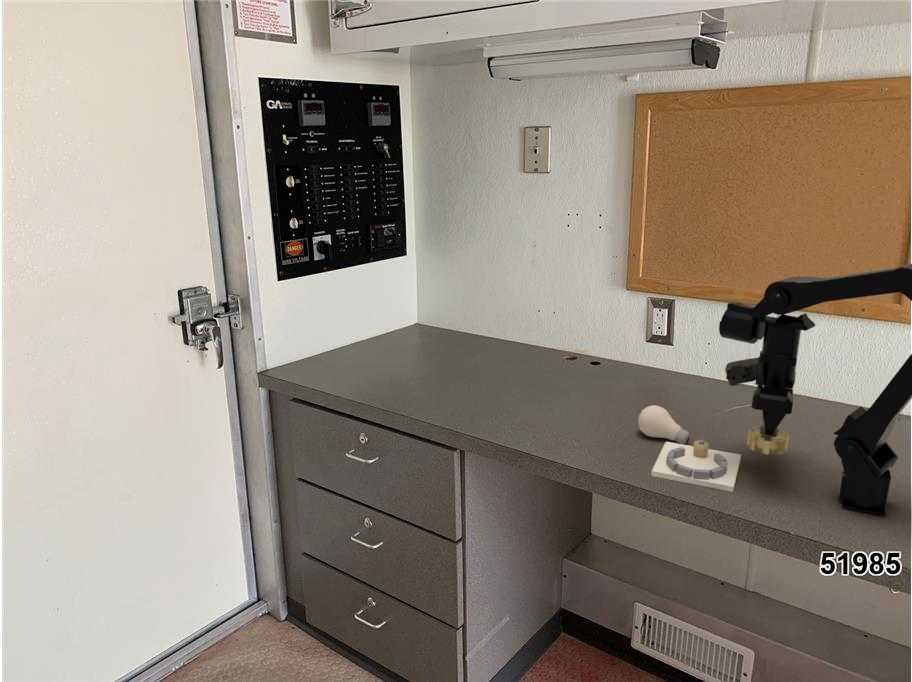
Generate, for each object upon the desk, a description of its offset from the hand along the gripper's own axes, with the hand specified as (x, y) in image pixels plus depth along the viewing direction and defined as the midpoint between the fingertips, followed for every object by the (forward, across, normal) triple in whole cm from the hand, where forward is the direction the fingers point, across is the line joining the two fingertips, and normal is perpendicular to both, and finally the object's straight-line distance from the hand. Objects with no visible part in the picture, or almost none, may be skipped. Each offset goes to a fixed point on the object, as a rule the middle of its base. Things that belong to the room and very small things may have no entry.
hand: (769, 431), depth 129 cm
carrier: (+8, +4, -11) cm, 14 cm away
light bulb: (+8, -7, -20) cm, 22 cm away
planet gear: (+3, 0, 0) cm, 3 cm away
